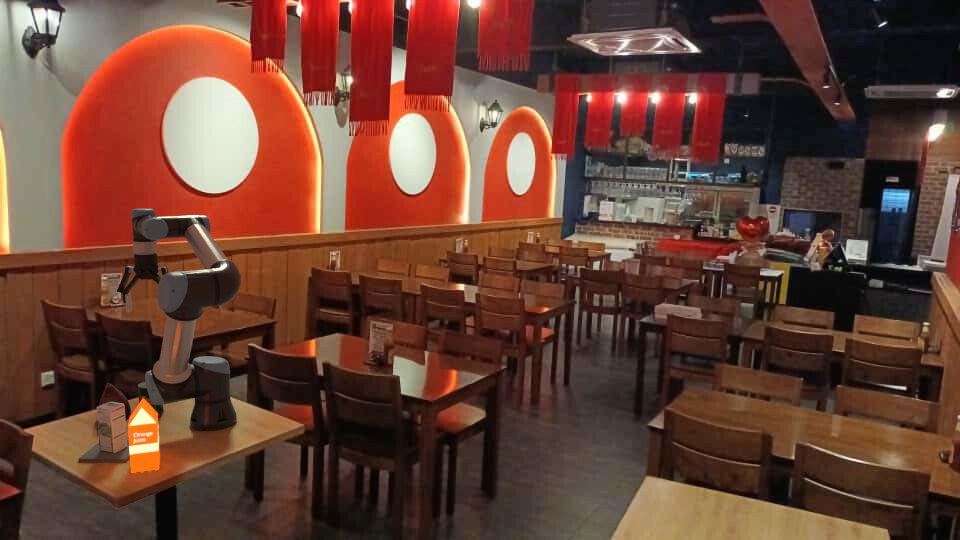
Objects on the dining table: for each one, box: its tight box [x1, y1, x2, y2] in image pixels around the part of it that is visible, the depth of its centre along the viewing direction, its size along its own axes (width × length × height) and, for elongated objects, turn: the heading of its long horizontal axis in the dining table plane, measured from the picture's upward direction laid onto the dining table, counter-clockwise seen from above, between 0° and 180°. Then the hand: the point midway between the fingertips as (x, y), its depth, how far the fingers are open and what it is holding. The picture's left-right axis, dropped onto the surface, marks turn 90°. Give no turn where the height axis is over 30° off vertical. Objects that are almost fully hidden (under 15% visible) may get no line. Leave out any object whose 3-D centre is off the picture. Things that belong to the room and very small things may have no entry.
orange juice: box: [127, 398, 161, 474], centre depth 203 cm, size 8×9×20 cm
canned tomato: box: [137, 381, 165, 416], centre depth 245 cm, size 8×8×11 cm
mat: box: [78, 439, 130, 463], centre depth 213 cm, size 14×14×1 cm
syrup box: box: [96, 402, 128, 453], centre depth 212 cm, size 6×6×14 cm
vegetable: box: [98, 382, 132, 419], centre depth 239 cm, size 10×10×15 cm
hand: (148, 312), depth 242 cm, fingers open, 13 cm apart
